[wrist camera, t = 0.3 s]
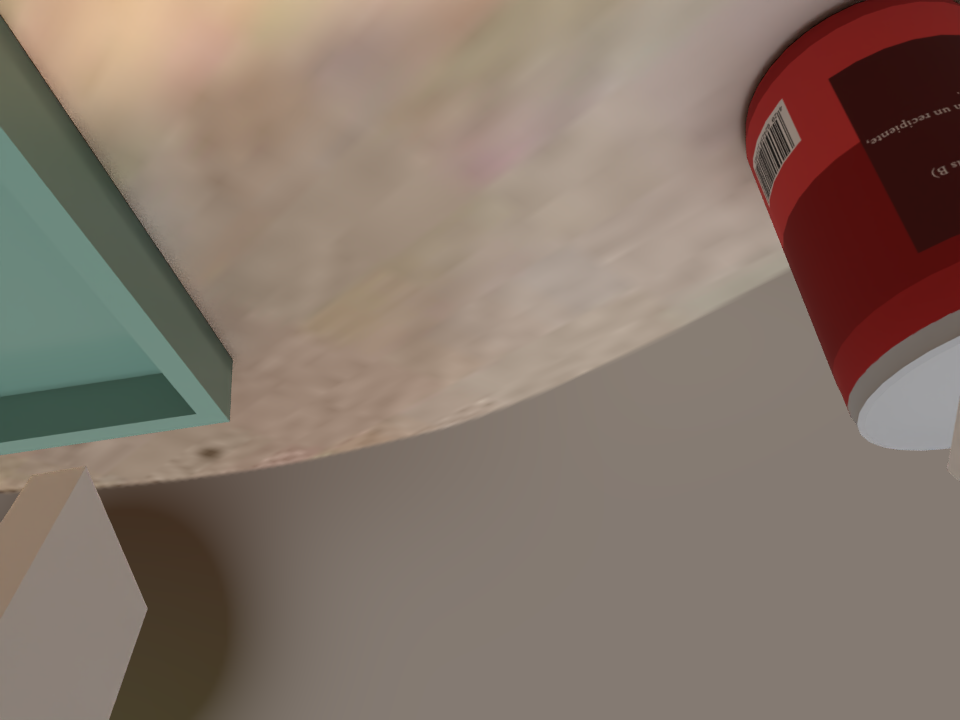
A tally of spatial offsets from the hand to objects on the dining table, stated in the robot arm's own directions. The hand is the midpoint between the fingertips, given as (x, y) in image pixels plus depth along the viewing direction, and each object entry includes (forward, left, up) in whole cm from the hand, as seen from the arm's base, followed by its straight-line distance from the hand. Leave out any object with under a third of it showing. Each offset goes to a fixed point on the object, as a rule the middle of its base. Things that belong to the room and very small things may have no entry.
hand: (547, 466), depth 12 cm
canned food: (+8, +12, -15) cm, 21 cm away
